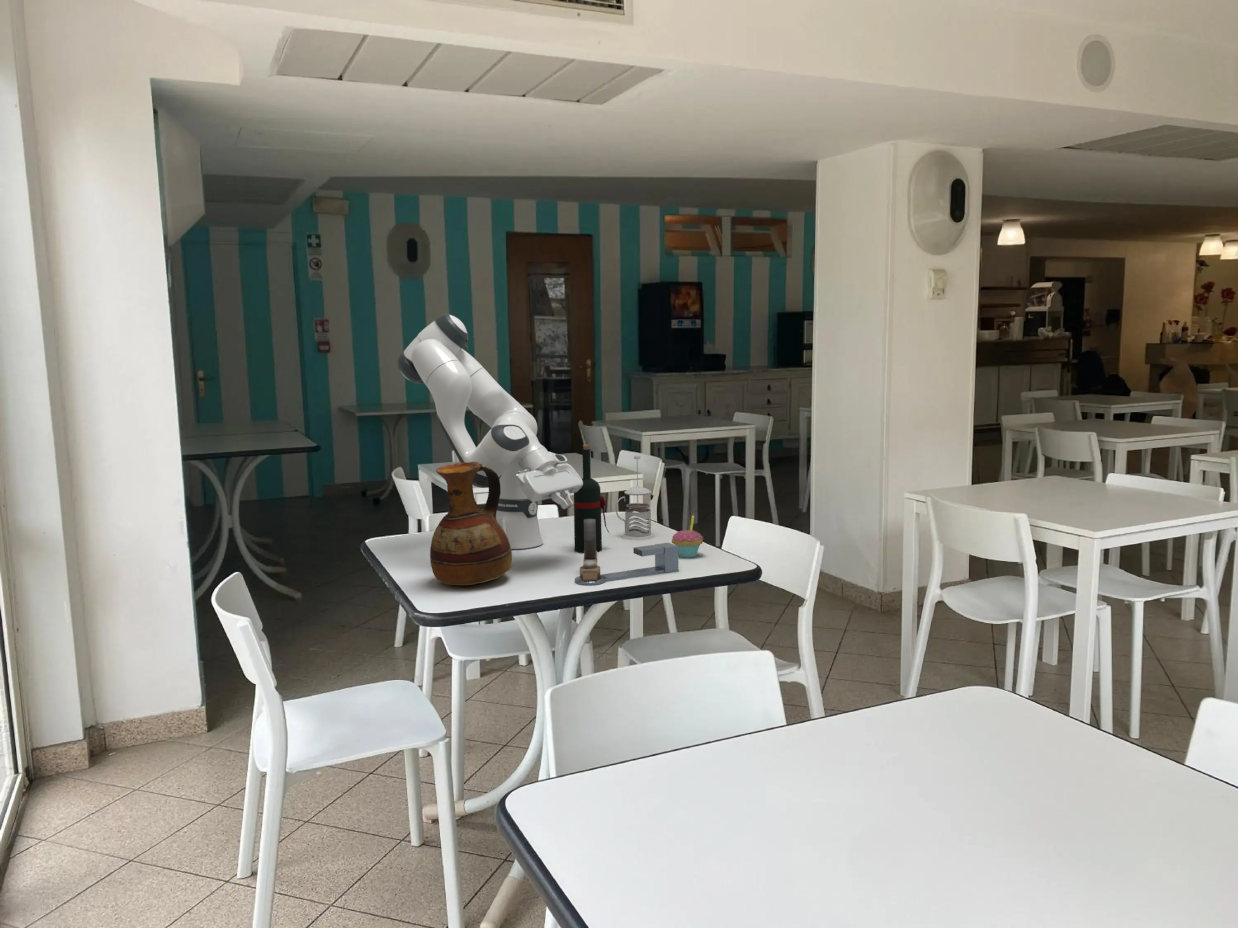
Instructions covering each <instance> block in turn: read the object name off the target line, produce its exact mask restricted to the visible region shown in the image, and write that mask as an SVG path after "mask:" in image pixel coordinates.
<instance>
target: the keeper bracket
mask: <svg viewBox="0 0 1238 928" xmlns="http://www.w3.org/2000/svg"><path fill="white" fill-rule="evenodd" d="M633 554H634V555H636V556H639V557H649V556H654V566H651V567H644V568H643V567H642V568H636V569H631V570H630V569H629V570H623V571H616V572H610V573H609V572H608V573H602V574H601V573H600V578H599V579H597V580H590V581H583V579H581V578H580V575H579V576H576V577H575V578H574V583H575V584H576V585H580V586H597V585H602V584H605V583H606V582H612V581H619V580H624V579H631V578H633V579H634V578H639V577H645V576H652V575H659V574H664V573H665V574H667V572H668V573H674V572H675V573H676V572H679V553H678V546H677V545H675V544H673V543H672V542H662V543H655V544H649V545H641V546H634V547H633Z"/></svg>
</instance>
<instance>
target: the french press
mask: <svg viewBox="0 0 1238 928" xmlns="http://www.w3.org/2000/svg"><path fill="white" fill-rule="evenodd" d="M633 459H634V460H639V459H641V456H640V455H639V454H635V455H634V456H633ZM638 463H639V462H638V461H636V486H633V487H629V488H628V489H626V490H625V491H624V492H623V493H624V494H625V495H627V496H637V500H636V501H637V502H633V503H627V504H626V505H625V507H626V508H627V509H624V510H625V513H624V514H625V515H624V516H625V519H624V518H622V517H621V516H620V515H619V514H618V512H617V511H618V510H617V508H618V507H617V506H618V503H619V502H620V501H621V500H622V499H624V502H626V496H625V495H624V496H622V497H620V498H619V499H618V500H617V501H616V504H615V514H616V516H617V518H618V519H619V520H620V521H623V522H624V534H623V536H622V537H621V538H622V539H624V540H628V541H646V540H647V539H648V540H652V539H654V538H655V536H654V534H653V533H652V517H651V515H652V513H651V512H652V511H651V508H649V507H650V504H649V503H640V502H639V496H649V495H650V494H652V491H651V490H650V489H648V488H646V487H642V486H639V483H638V482H639V481H638V480H639V478H638V477H639V476H638V475H639V474H638V471H639V470H638V469H639V467H638V466H639V465H638ZM631 517H632V518H631ZM642 519H643V520H642ZM632 525H633V526H632Z"/></svg>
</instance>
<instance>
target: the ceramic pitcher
mask: <svg viewBox="0 0 1238 928" xmlns="http://www.w3.org/2000/svg"><path fill="white" fill-rule="evenodd" d="M479 471H484V472H485V474H486V476H487V479H488V486H489V488H488V494H487V499H486V502H485V505H484V507H483V508H481V507H480V506H479V505H478V503H477V501H476V499H475V495H474V489H473V487H474V485H473V479H474V476H475V474H476V473H477V472H479ZM435 472H436V473H437V474H438V475H439V476H440V477H442V479H443V480H444V481H445V483H446V487H447V488H446V489H447V491H446V492H447V496H448V498H449V501H450V502H449V508H448V512H447V513H446V514H445V515H444V516H443V517H442V518H441V520H440V521H439V523H438V524H437V526H436V528H435V530H434V532H433V535H432V538H431V542H430V543H431V544H430V549H429V557H430V558H429V559H430V566H431V570H432V573H433V576H434V577H435V579H436V580H437V581H438V582H440V583H443V584H445V585H451V586H472V585H476V584H477V585H478V584H482V583H486V582H489V581H491V580H496V579H499V578H500V577H501V576H503V575H505V574H506V573H507V572H509V571H510V570H511V568H512V565H513V552H512V549H511V547H510V543H509V540H508V537H507V535H506V533H505V531H504V530H503V528H502V527H501V526H500V524H499V523H498V522H497V520H496V512H497V508H498V503H499V498H500V494H501V489H500V480H499V477H498V475H497V473H496V472H495V471H494V470H493V469H491V468H490V467H488V466H485V465H482V464H480V463H478V462H465V463H460V462H456V463H453V464H446V465H444V466H443V465H442V466H440V467H439V468H436V470H435Z"/></svg>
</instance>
